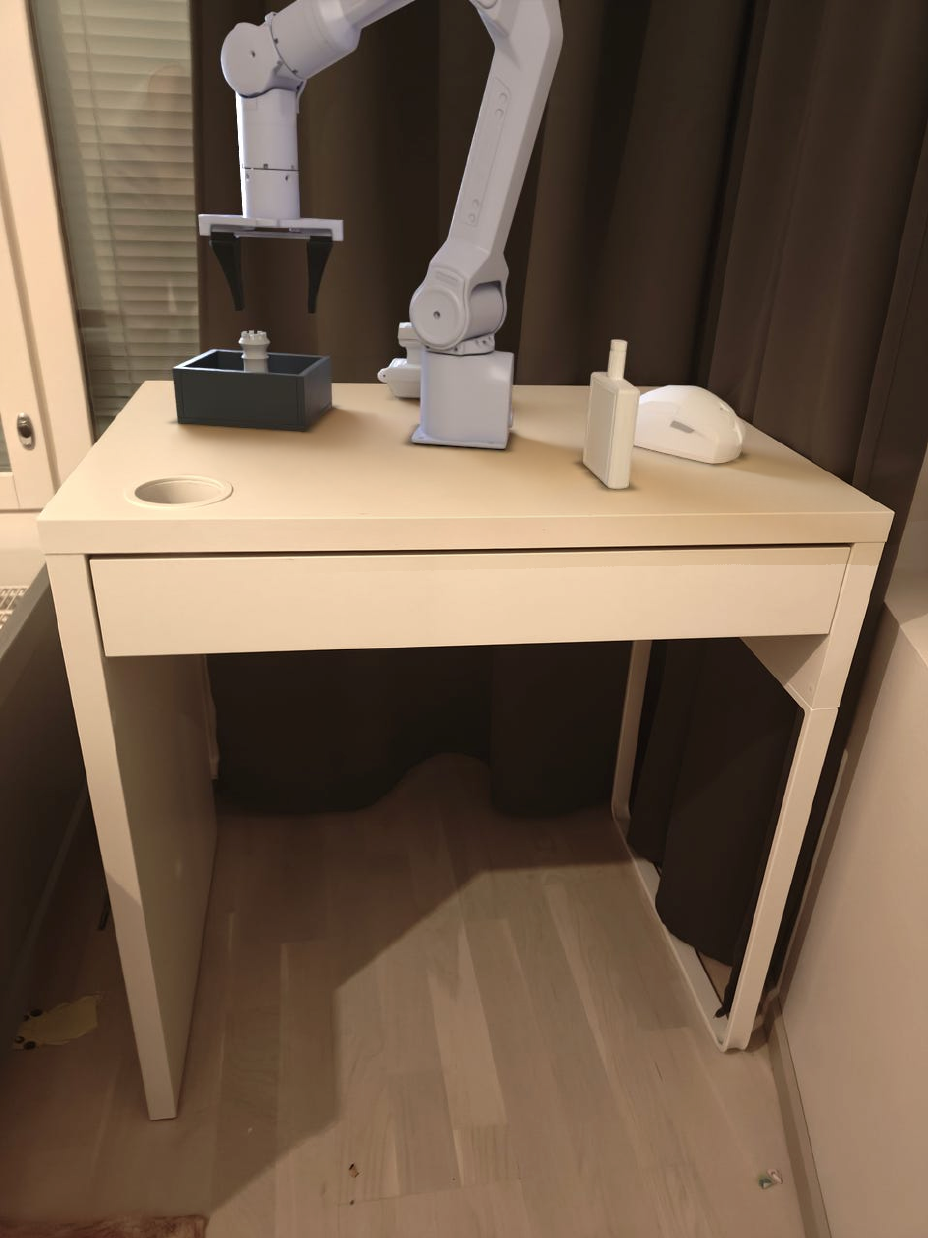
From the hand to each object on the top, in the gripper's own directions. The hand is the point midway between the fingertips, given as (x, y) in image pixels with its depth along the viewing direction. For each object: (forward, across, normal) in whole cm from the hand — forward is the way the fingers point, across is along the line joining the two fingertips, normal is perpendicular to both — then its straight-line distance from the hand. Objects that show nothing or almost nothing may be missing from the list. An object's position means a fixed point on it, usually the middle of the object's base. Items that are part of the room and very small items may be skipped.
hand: (276, 310), depth 98 cm
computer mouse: (+11, +42, -13) cm, 45 cm away
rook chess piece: (+10, -2, -3) cm, 11 cm away
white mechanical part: (+11, +15, +8) cm, 20 cm away
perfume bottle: (+11, +32, -23) cm, 41 cm away
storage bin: (+10, -2, -3) cm, 11 cm away
